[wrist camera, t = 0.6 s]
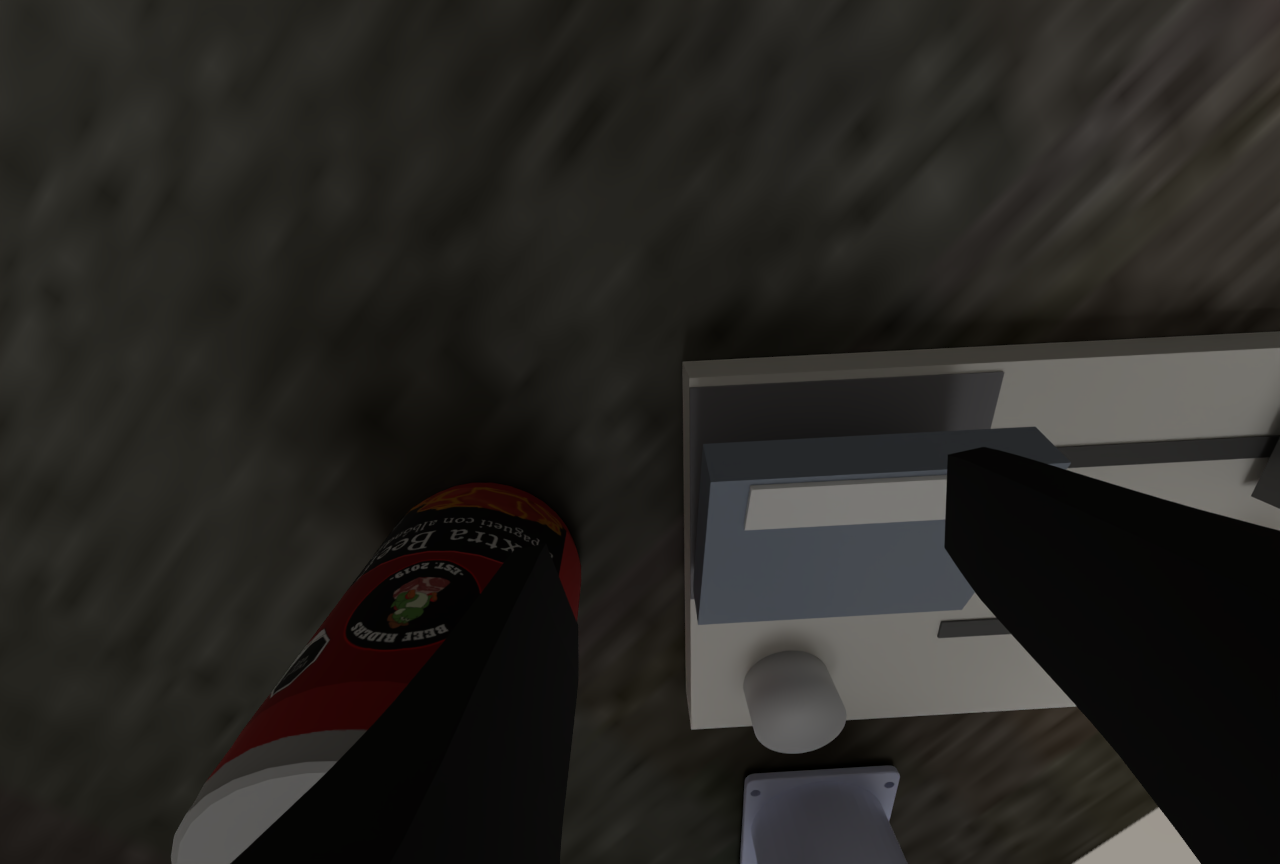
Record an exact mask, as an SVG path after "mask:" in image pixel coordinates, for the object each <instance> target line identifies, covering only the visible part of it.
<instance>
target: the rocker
mask: <svg viewBox="0 0 1280 864" xmlns="http://www.w3.org/2000/svg"><path fill="white" fill-rule="evenodd" d="M980 447H987V448H992V449H996V450H1000V451H1004V452H1008V453H1012V454H1015V455H1019V456H1022V457H1026V458H1029V459H1032V460H1036V461H1039V462H1043V463H1046V464H1049V465H1052V466H1056V467H1059V468H1062V469H1065V470H1066V469H1067V468H1068V467H1069V465H1070V464H1071V462H1070V461H1069V460H1068V459H1067V458H1066V457H1065V456H1064V455H1063V454H1062V453H1061V452H1060V451H1059V450H1058V449H1057V448H1056V447H1055V446H1054V445H1053V444H1052V443H1051V442H1050V441H1049V440H1048V439H1047V438H1046V437H1045V436H1044V435H1043V434H1042V433H1041V432H1040V431H1039V430H1038V429H1037V428H1036V427H1035V426H1034V427H1015V428H996V429H977V430H958V431H939V432H920V433H901V434H882V435H863V436H844V437H825V438H806V439H787V440H769V441H750V442H731V443H712V444H703V450H702V465H701V479H700V494H699V508H698V522H697V537H696V551H695V566H694V580H693V592H694V599H695V606H696V614H697V621H698V625H707V624H724V623H742V622H759V621H776V620H794V619H811V618H828V617H846V616H863V615H880V614H898V613H915V612H933V611H950V610H962V609H963V608H964V606H965V605H966V604H967V602H968V601H969V600H970V598H971V597H972V596H973V594H974V593H975V591H974V590H973V589H972V587H971V586H970V585H969V583H968V582H967V580H966V579H965V578H964V576H963V575H962V573H961V572H960V570H959V569H958V567H957V566H956V564H955V563H954V561H953V560H952V558H951V557H950V555H949V554H948V552H947V551H946V549H945V548H944V542H945V515H946V487H947V460H948V454H953V453H957V452H962V451H966V450H971V449H975V448H980Z"/></svg>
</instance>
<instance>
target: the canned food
mask: <svg viewBox="0 0 1280 864" xmlns="http://www.w3.org/2000/svg"><path fill="white" fill-rule="evenodd" d="M545 543H546V545H547V547H548V550H549V552H550V555H551V557H552V560H553V563H554V565H555V568H556V570H557V573H558V575H559V578H560V580H561V583H562V586H563V588H564V591H565V593H566V596H567V598H568V601H569V603H570V606H571V609H572V611H573V614H574V616H575V619H576V621H577V616H578V606H579V597H580V588H581V564H580V560H579V556H578V552H577V549H576V546H575V543H574V540H573V538H572V536H571V534H570V532H569V530H568V528H567V526H566V525H565V523H564V522H563V521H562V520H561V518H560V517H559V516H558V514H557V513H556V512H555V511H554V510H552V509H551V508H550V507H549V506H548V505H547V504H545V503H544V502H543V501H542V500H540V499H538V498H536V497H535V496H533V495H531V494H529V493H528V492H525V491H523V490H520V489H517V488H514V487H512V486H508V485H502V484H496V483H468V484H463V485H458V486H454V487H451V488H448V489H446V490H443V491H441V492H438V493H436V494H435V495H433V496H431V497H429V498H427V499H426V500H424V501H423V502H421V503H420V504H418V505H416V506H415V507H413V508H412V509H411V510H410V511H409V512H408V513H407V514H406V515H405V516H404V517H403V518H402V519H401V520H400V521H399V522H398V524H397V525H396V526H395V528H394V529H393V530H392V532H391V533H390V534H389V536H388V537H387V538H386V540H385V541H384V542H383V544H382V545H381V546H380V548H379V549H378V550H377V552H376V553H375V554H374V556H373V557H372V558H371V560H370V561H369V562H368V564H367V565H366V566H365V568H364V569H363V570H362V572H361V573H360V574H359V576H358V577H357V578H356V580H355V581H354V582H353V584H352V585H351V586H350V588H349V589H348V590H347V592H346V593H345V594H344V596H343V597H342V598H341V600H340V601H339V602H338V604H337V605H336V606H335V608H334V609H333V610H332V612H331V613H330V614H329V616H328V617H327V618H326V620H325V621H324V622H323V624H322V625H321V626H320V628H319V629H318V630H317V632H316V633H315V634H314V636H313V637H312V638H311V640H310V641H309V642H308V644H307V645H306V646H305V648H304V649H303V650H302V652H301V653H300V655H299V656H298V657H297V659H296V660H295V661H294V663H293V664H292V665H291V667H290V668H289V669H288V671H287V672H286V673H285V675H284V676H283V677H282V679H281V680H280V681H279V683H278V684H277V685H276V687H275V688H274V689H273V691H272V692H271V693H270V695H269V696H268V697H267V699H266V700H265V701H264V703H263V704H262V705H261V707H260V708H259V709H258V711H257V712H256V713H255V715H254V716H253V717H252V719H251V720H250V721H249V723H248V724H247V725H246V727H245V728H244V729H243V731H242V732H241V734H240V735H239V737H238V738H237V740H236V741H235V743H234V744H233V746H232V747H231V748H230V750H229V751H228V753H227V754H226V755H225V757H224V758H223V759H222V761H221V762H220V763H219V765H218V766H217V767H216V769H215V770H214V771H213V773H212V774H211V775H210V777H209V778H208V780H207V781H206V782H205V784H204V786H203V787H202V789H201V791H200V793H199V795H198V796H197V798H196V800H195V802H194V804H193V805H192V807H191V808H190V810H189V811H188V812H187V814H186V815H185V817H184V819H183V821H182V822H181V824H180V826H179V828H178V830H177V831H176V833H175V835H174V840H173V847H172V854H171V860H172V864H230V863H231V862H232V861H233V860H235V859H236V858H237V857H238V856H239V855H240V854H241V853H242V852H243V851H244V850H245V849H247V848H248V847H249V846H250V845H251V844H252V843H253V842H254V841H255V840H256V839H257V838H258V837H259V836H260V835H261V834H262V833H263V832H265V831H266V830H267V829H268V828H269V827H270V826H271V825H272V824H273V823H274V822H275V821H276V820H277V819H278V818H279V817H280V816H282V815H283V814H284V813H285V812H286V811H287V810H288V809H289V808H290V807H291V806H292V805H293V804H294V803H295V802H296V801H297V800H299V799H300V798H301V797H302V796H303V795H304V794H305V793H306V792H307V791H308V790H309V789H310V788H311V787H312V786H313V785H314V784H316V783H317V782H318V781H319V780H320V779H321V778H322V777H323V776H324V775H325V774H326V773H327V772H328V771H329V770H330V769H331V768H332V767H333V765H334V764H335V763H336V762H337V761H338V760H339V759H340V758H341V757H342V756H343V755H344V754H345V753H346V752H347V751H348V750H349V749H350V748H351V747H352V746H353V745H354V744H355V743H356V742H357V741H358V740H359V739H360V737H361V736H362V735H363V734H364V733H365V732H366V731H367V730H368V729H369V728H370V727H371V726H372V725H373V724H374V722H375V721H376V720H377V719H378V718H379V717H380V716H381V715H382V714H383V713H384V712H385V710H386V709H387V708H388V707H389V706H390V705H391V704H392V703H393V701H394V700H395V699H396V698H397V697H398V696H399V694H400V693H401V692H402V691H403V690H404V688H405V687H406V686H407V685H408V684H409V683H410V681H411V680H412V679H413V678H414V677H415V675H416V674H417V673H418V672H419V671H420V669H421V668H422V667H423V666H424V665H425V663H426V662H427V661H428V660H429V659H430V657H431V656H432V655H433V654H434V653H435V651H436V650H437V649H438V648H439V647H440V645H441V644H442V643H443V642H444V640H445V639H446V638H447V637H448V635H449V634H450V633H451V631H452V630H453V629H454V628H455V626H456V625H457V624H458V622H459V621H460V620H461V618H462V617H463V616H464V615H465V613H466V612H467V611H468V609H469V608H470V607H471V606H472V604H473V603H474V602H475V600H476V599H477V598H478V596H479V595H480V594H481V592H482V591H483V590H484V588H485V587H486V586H487V584H488V583H489V582H490V580H491V579H492V578H493V576H494V575H495V574H496V572H497V571H498V570H499V568H500V567H501V566H502V564H503V563H504V562H505V560H506V559H507V558H508V557H509V556H510V554H511V553H512V552H513V551H514V550H517V549H522V548H526V547H531V546H536V545H540V544H545Z"/></svg>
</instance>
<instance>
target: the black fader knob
mask: <svg viewBox="0 0 1280 864" xmlns="http://www.w3.org/2000/svg"><path fill="white" fill-rule="evenodd" d="M1251 497H1254V498H1256V499H1258V500H1261V501H1263V502H1265V503H1267V504H1270V505H1272V506H1274V507H1277V508H1279V509H1280V438H1279V440H1278V442H1277V444H1276V446H1275V448H1274V450H1273V452H1272V454H1271V456H1270V458H1269V460H1268V462H1267V464H1266V466H1265V468H1264V470H1263V472H1262V474H1261V476H1260V478H1259V480H1258V482H1257V484H1256V486H1255V489H1254V491H1253V493H1252V495H1251Z"/></svg>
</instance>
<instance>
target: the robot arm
mask: <svg viewBox="0 0 1280 864" xmlns="http://www.w3.org/2000/svg"><path fill="white" fill-rule="evenodd" d="M944 548H945V549H946V551H947V552H948V554H949V555H950V557H951V558H952V560H953V561H954V563H955V564H956V566H957V567H958V569H959V570H960V572H961V573H962V575H963V576H964V578H965V579H966V580H967V582H968V583H969V585H970V586H971V587H972V589H973V590H974V591H975V593H976V594H977V596H978V597H979V598H980V599H981V601H982V602H983V603H984V604H985V605H986V606H987V607H988V609H989V610H990V611H991V612H992V613H993V614H994V615H995V617H996V618H997V619H998V620H999V621H1000V622H1001V623H1002V624H1003V625H1004V627H1005V628H1006V629H1007V630H1008V631H1009V632H1010V633H1011V634H1012V636H1013V637H1014V638H1015V639H1016V640H1017V641H1018V642H1019V643H1020V644H1021V646H1022V647H1023V648H1024V649H1025V650H1026V651H1027V652H1028V653H1029V654H1030V655H1031V657H1032V658H1033V659H1034V660H1035V661H1036V662H1037V663H1038V664H1039V665H1040V666H1041V668H1042V669H1043V670H1044V671H1045V672H1046V673H1047V674H1048V675H1049V676H1050V677H1051V679H1052V680H1053V681H1054V682H1055V683H1056V684H1057V685H1058V686H1059V687H1060V688H1061V690H1062V691H1063V692H1064V693H1065V694H1066V695H1067V696H1068V697H1069V698H1070V699H1071V701H1072V702H1073V703H1074V704H1075V705H1076V706H1077V707H1078V708H1079V709H1080V710H1081V712H1082V713H1083V714H1084V715H1085V716H1086V717H1087V718H1088V719H1089V720H1090V721H1091V723H1092V724H1093V725H1094V726H1095V727H1096V729H1097V730H1098V731H1099V732H1100V733H1101V734H1102V736H1103V737H1104V738H1105V739H1106V740H1107V741H1108V743H1109V744H1110V745H1111V746H1112V747H1113V749H1114V750H1115V751H1116V752H1117V753H1118V755H1119V756H1120V757H1121V758H1122V760H1123V761H1124V762H1125V764H1126V765H1127V766H1128V768H1129V769H1130V770H1131V771H1132V773H1133V774H1134V775H1135V777H1136V778H1137V779H1138V781H1139V782H1140V783H1141V784H1142V786H1143V787H1144V788H1145V790H1146V791H1147V792H1148V794H1149V795H1150V796H1151V797H1152V799H1153V800H1154V801H1155V803H1156V804H1157V805H1158V807H1159V808H1160V809H1161V810H1162V812H1163V813H1164V814H1165V816H1166V817H1167V818H1168V819H1169V821H1170V822H1171V823H1172V825H1173V826H1174V827H1175V829H1176V830H1177V831H1178V833H1179V834H1180V835H1181V837H1182V838H1183V840H1184V841H1185V842H1186V844H1187V845H1188V846H1189V848H1190V849H1191V851H1192V852H1193V853H1194V855H1195V856H1196V857H1197V859H1198V860H1199V861H1200V863H1201V864H1280V530H1276V529H1272V528H1268V527H1264V526H1260V525H1256V524H1253V523H1249V522H1245V521H1241V520H1238V519H1234V518H1230V517H1226V516H1223V515H1219V514H1215V513H1211V512H1208V511H1204V510H1200V509H1196V508H1193V507H1189V506H1186V505H1182V504H1179V503H1175V502H1172V501H1168V500H1165V499H1161V498H1158V497H1154V496H1151V495H1148V494H1144V493H1141V492H1137V491H1134V490H1131V489H1128V488H1124V487H1121V486H1118V485H1114V484H1111V483H1108V482H1104V481H1101V480H1098V479H1095V478H1091V477H1088V476H1085V475H1082V474H1078V473H1075V472H1072V471H1069V470H1065V469H1062V468H1059V467H1056V466H1052V465H1049V464H1046V463H1043V462H1039V461H1036V460H1032V459H1029V458H1026V457H1022V456H1019V455H1015V454H1012V453H1008V452H1004V451H1000V450H996V449H992V448H987V447H980V448H975V449H971V450H966V451H962V452H957V453H953V454H948V460H947V487H946V515H945V542H944ZM577 688H578V624H577V621H576V619H575V616H574V614H573V611H572V609H571V606H570V603H569V601H568V598H567V596H566V593H565V591H564V588H563V586H562V583H561V580H560V578H559V575H558V573H557V570H556V568H555V565H554V563H553V560H552V557H551V555H550V552H549V550H548V547H547V545H546V543H545V544H540V545H536V546H531V547H526V548H522V549H517V550H514V551H513V552H512V553H511V554H510V556H509V557H508V558H507V559H506V560H505V562H504V563H503V564H502V566H501V567H500V568H499V570H498V571H497V572H496V574H495V575H494V576H493V578H492V579H491V580H490V582H489V583H488V584H487V586H486V587H485V588H484V590H483V591H482V592H481V594H480V595H479V596H478V598H477V599H476V600H475V602H474V603H473V604H472V606H471V607H470V608H469V609H468V611H467V612H466V613H465V615H464V616H463V617H462V618H461V620H460V621H459V622H458V624H457V625H456V626H455V628H454V629H453V630H452V631H451V633H450V634H449V635H448V637H447V638H446V639H445V640H444V642H443V643H442V644H441V645H440V647H439V648H438V649H437V650H436V651H435V653H434V654H433V655H432V656H431V657H430V659H429V660H428V661H427V662H426V663H425V665H424V666H423V667H422V668H421V669H420V671H419V672H418V673H417V674H416V675H415V677H414V678H413V679H412V680H411V681H410V683H409V684H408V685H407V686H406V687H405V688H404V690H403V691H402V692H401V693H400V694H399V696H398V697H397V698H396V699H395V700H394V701H393V703H392V704H391V705H390V706H389V707H388V708H387V709H386V710H385V712H384V713H383V714H382V715H381V716H380V717H379V718H378V719H377V720H376V721H375V722H374V724H373V725H372V726H371V727H370V728H369V729H368V730H367V731H366V732H365V733H364V734H363V735H362V736H361V737H360V739H359V740H358V741H357V742H356V743H355V744H354V745H353V746H352V747H351V748H350V749H349V750H348V751H347V752H346V753H345V754H344V755H343V756H342V757H341V758H340V759H339V760H338V761H337V762H336V763H335V764H334V765H333V767H332V768H331V769H330V770H329V771H328V772H327V773H326V774H325V775H324V776H323V777H322V778H321V779H320V780H319V781H318V782H317V783H316V784H314V785H313V786H312V787H311V788H310V789H309V790H308V791H307V792H306V793H305V794H304V795H303V796H302V797H301V798H300V799H299V800H297V801H296V802H295V803H294V804H293V805H292V806H291V807H290V808H289V809H288V810H287V811H286V812H285V813H284V814H283V815H282V816H280V817H279V818H278V819H277V820H276V821H275V822H274V823H273V824H272V825H271V826H270V827H269V828H268V829H267V830H266V831H265V832H263V833H262V834H261V835H260V836H259V837H258V838H257V839H256V840H255V841H254V842H253V843H252V844H251V845H250V846H249V847H248V848H247V849H245V850H244V851H243V852H242V853H241V854H240V855H239V856H238V857H237V858H236V859H235V860H233V861H232V862H231V863H230V864H560V850H561V837H562V824H563V814H564V805H565V796H566V787H567V778H568V770H569V761H570V752H571V743H572V734H573V726H574V716H575V707H576V698H577ZM899 779H900V774H899V772H898V770H897V769H896V767H894V766H892V765H884V766H868V767H852V768H835V769H819V770H803V771H787V772H771V773H754V774H750V775H748V776H747V777H746V778H745V784H744V801H743V818H742V835H741V852H740V864H908V863H907V861H906V859H905V857H904V854H903V852H902V850H901V848H900V845H899V843H898V841H897V839H896V836H895V834H894V832H893V830H892V827H891V825H890V823H889V820H890V816H891V812H892V808H893V803H894V799H895V795H896V791H897V787H898V783H899Z"/></svg>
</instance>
